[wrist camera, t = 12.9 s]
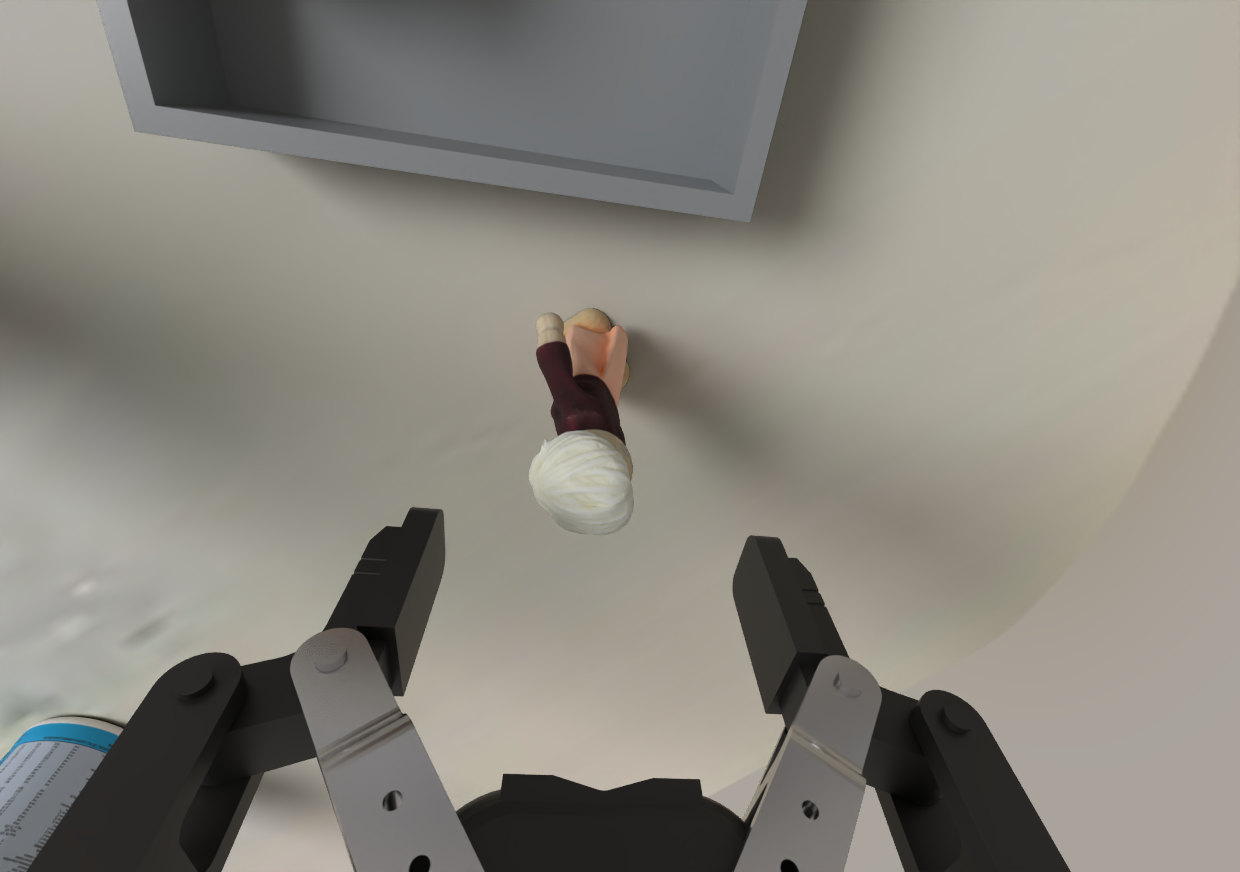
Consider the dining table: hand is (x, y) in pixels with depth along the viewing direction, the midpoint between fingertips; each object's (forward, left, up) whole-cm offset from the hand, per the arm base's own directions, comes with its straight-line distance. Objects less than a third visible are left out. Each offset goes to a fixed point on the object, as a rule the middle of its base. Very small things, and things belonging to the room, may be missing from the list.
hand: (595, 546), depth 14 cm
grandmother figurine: (0, 0, -14) cm, 14 cm away
